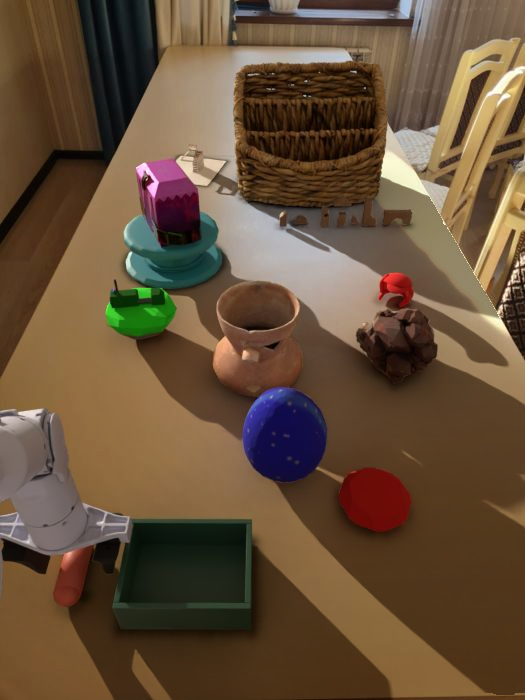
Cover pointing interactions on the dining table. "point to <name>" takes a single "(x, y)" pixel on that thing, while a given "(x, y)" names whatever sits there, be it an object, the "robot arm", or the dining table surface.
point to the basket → (309, 132)
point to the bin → (186, 575)
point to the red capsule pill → (72, 576)
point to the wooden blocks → (366, 216)
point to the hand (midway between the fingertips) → (78, 565)
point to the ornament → (284, 435)
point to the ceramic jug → (257, 338)
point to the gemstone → (375, 499)
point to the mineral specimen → (398, 342)
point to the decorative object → (170, 230)
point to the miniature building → (139, 311)
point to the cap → (397, 286)
